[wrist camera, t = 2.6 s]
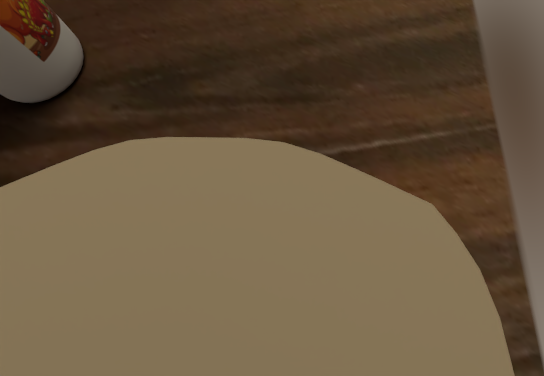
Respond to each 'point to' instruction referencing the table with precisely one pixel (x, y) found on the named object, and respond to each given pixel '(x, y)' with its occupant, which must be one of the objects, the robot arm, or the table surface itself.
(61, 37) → the milk bottle
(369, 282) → the handle
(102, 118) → the table surface
